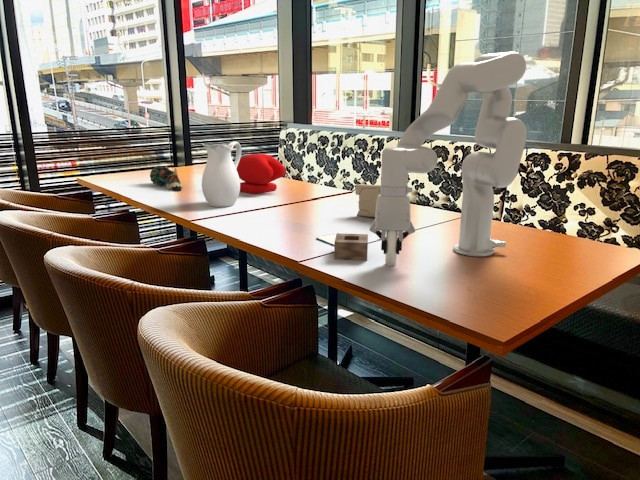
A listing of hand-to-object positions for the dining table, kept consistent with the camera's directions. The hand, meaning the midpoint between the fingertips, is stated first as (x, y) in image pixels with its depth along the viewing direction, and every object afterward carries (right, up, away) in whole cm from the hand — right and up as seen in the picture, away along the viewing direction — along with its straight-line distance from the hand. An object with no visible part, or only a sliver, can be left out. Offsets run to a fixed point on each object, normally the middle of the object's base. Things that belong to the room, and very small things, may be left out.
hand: (391, 252), depth 152 cm
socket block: (-11, -1, +10) cm, 15 cm away
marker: (0, -4, +1) cm, 4 cm away
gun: (+4, +12, +56) cm, 57 cm away
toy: (-53, +29, +115) cm, 130 cm away
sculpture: (-102, +32, +125) cm, 165 cm away
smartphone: (-15, +2, +24) cm, 28 cm away
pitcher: (-64, +20, +85) cm, 108 cm away
